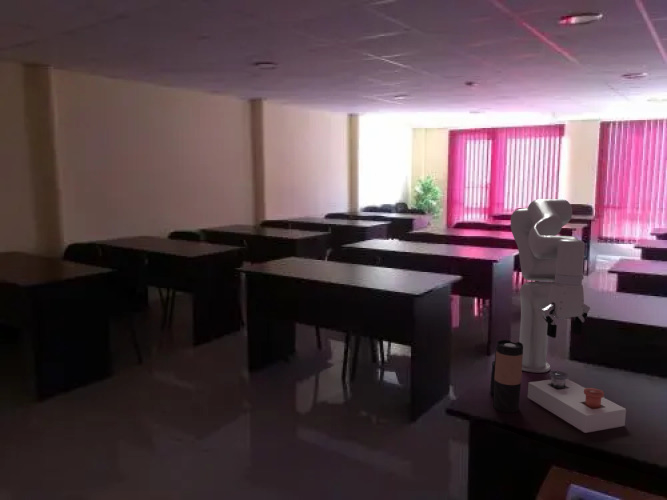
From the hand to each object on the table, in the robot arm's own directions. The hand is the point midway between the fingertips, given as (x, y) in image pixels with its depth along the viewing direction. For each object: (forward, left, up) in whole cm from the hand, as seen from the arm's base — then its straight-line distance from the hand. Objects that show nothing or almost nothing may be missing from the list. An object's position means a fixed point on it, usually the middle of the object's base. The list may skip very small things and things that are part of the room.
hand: (564, 335), depth 165 cm
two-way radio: (-11, -14, -22) cm, 28 cm away
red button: (+14, 0, -17) cm, 22 cm away
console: (+7, 0, -21) cm, 22 cm away
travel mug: (-1, -18, -22) cm, 28 cm away
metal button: (0, 0, -17) cm, 17 cm away
